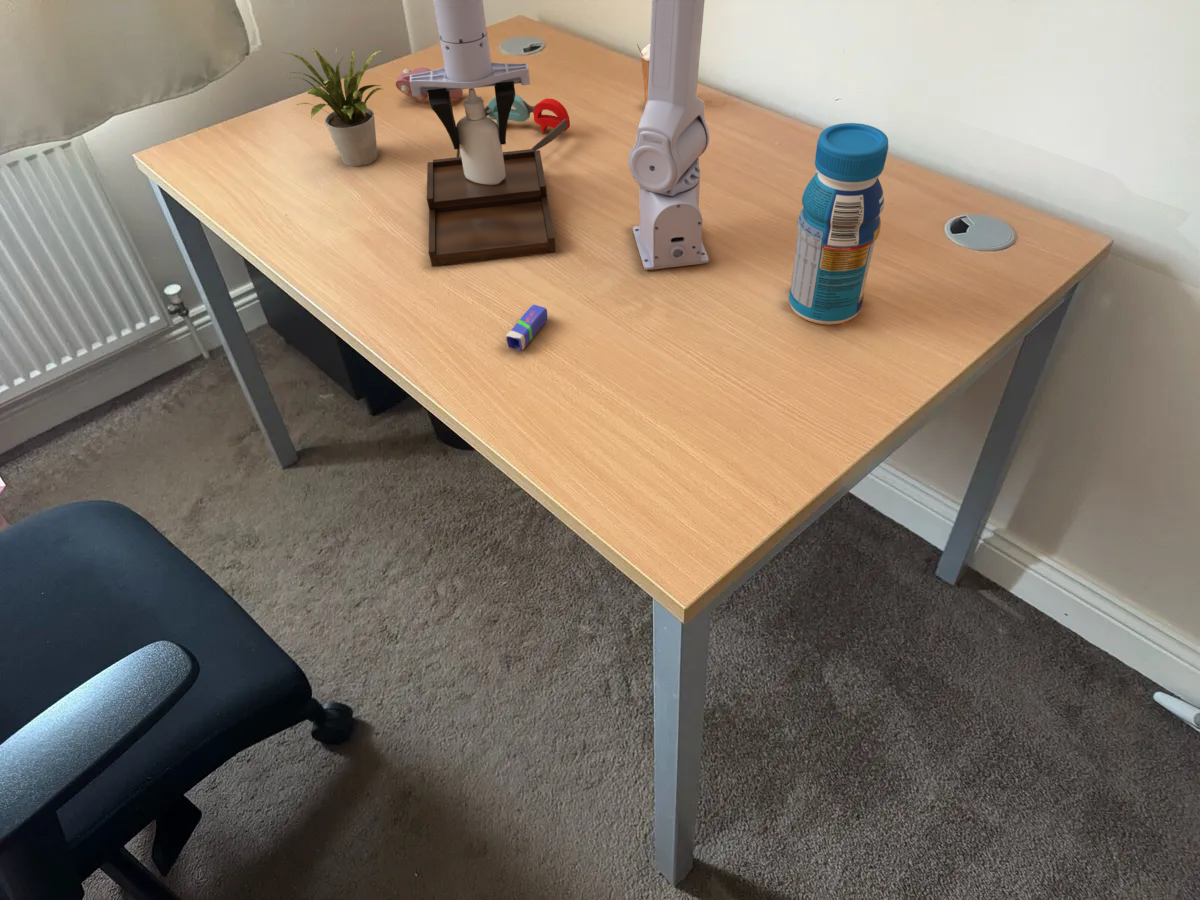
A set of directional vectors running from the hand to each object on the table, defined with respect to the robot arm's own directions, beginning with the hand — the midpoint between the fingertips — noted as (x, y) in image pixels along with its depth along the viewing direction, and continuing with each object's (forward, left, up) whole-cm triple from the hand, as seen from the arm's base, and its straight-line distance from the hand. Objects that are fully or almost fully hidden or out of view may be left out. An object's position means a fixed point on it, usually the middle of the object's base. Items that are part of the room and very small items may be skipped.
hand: (480, 143), depth 110 cm
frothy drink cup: (+23, -27, -8) cm, 36 cm away
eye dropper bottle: (0, 0, -5) cm, 5 cm away
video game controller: (+33, +8, -8) cm, 35 cm away
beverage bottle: (-32, -37, -8) cm, 49 cm away
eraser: (-31, -3, -8) cm, 32 cm away
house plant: (+16, +20, -8) cm, 27 cm away
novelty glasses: (+14, -4, -8) cm, 17 cm away
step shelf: (-5, 0, -8) cm, 9 cm away
